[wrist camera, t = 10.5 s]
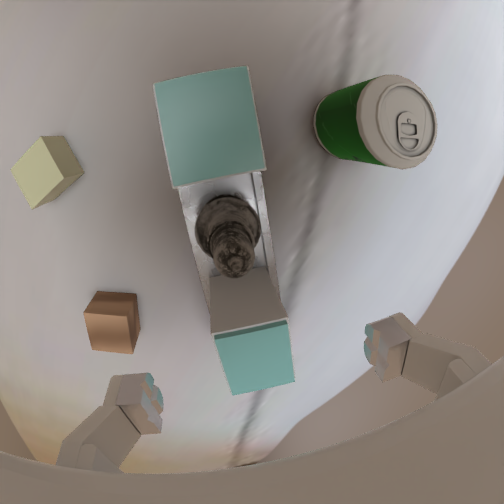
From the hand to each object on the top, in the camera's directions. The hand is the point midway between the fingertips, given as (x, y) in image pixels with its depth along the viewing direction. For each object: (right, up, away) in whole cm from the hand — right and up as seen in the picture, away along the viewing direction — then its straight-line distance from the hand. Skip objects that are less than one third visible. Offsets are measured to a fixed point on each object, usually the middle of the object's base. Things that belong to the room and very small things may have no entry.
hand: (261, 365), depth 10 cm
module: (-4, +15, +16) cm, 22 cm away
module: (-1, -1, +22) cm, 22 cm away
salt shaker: (-3, +7, +19) cm, 21 cm away
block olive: (-21, +13, +15) cm, 29 cm away
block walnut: (-16, -3, +22) cm, 28 cm away
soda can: (+9, +18, +18) cm, 27 cm away
